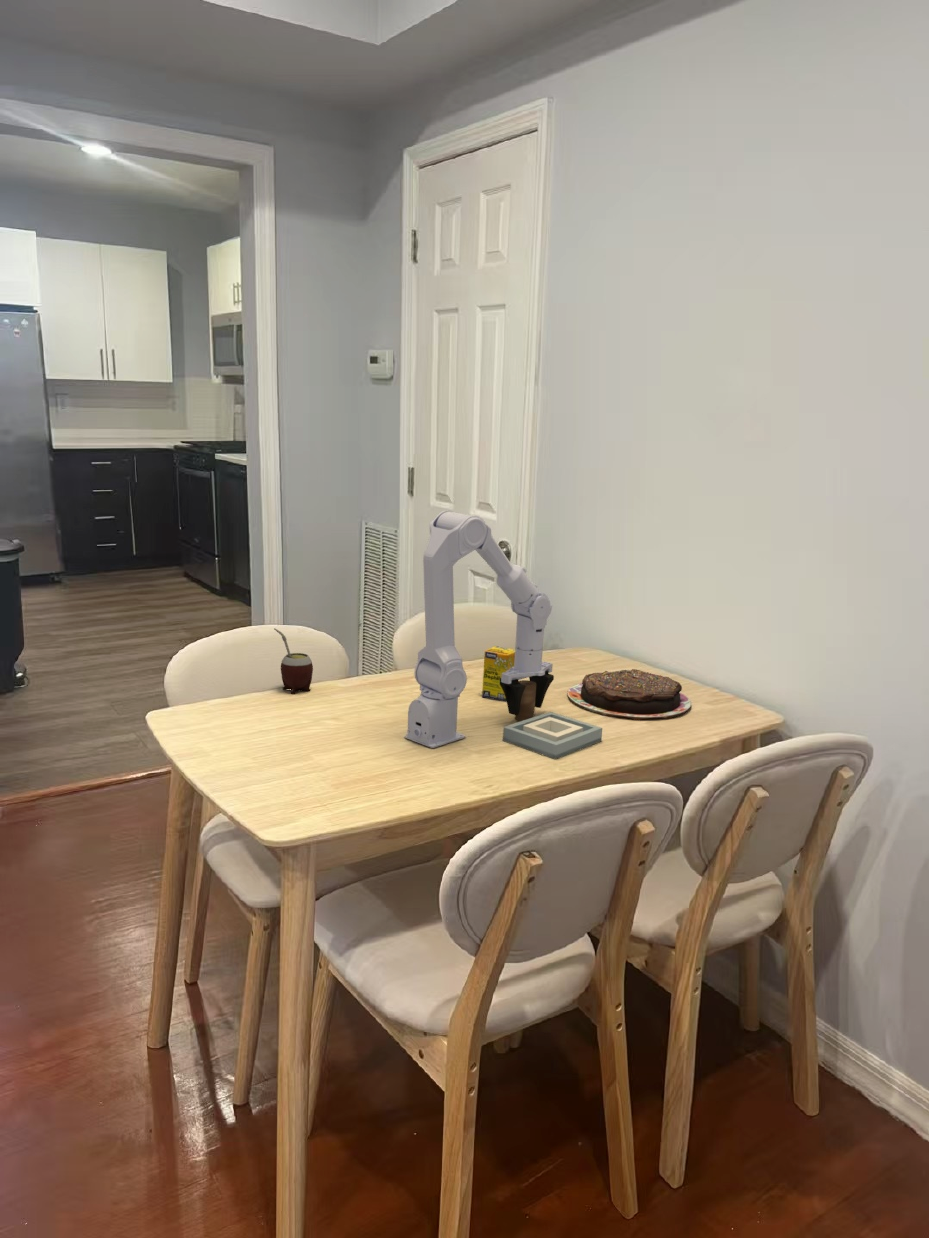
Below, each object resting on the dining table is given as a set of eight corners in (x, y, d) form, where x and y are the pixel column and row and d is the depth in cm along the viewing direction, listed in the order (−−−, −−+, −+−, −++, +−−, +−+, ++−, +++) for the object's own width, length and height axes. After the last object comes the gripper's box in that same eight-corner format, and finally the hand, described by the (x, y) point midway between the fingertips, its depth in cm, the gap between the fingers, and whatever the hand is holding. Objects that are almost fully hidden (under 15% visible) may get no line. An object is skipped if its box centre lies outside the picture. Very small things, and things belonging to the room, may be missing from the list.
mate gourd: (316, 686, 207) (316, 622, 204) (306, 697, 199) (307, 630, 196) (284, 684, 208) (284, 620, 204) (273, 694, 200) (273, 628, 197)
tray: (555, 759, 169) (556, 745, 169) (502, 740, 178) (503, 727, 177) (601, 741, 180) (602, 727, 180) (549, 724, 189) (550, 711, 188)
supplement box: (481, 697, 205) (483, 650, 203) (493, 691, 210) (495, 645, 208) (505, 702, 202) (508, 654, 200) (516, 695, 208) (519, 649, 205)
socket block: (556, 747, 173) (557, 736, 173) (522, 736, 179) (523, 725, 178) (582, 738, 179) (583, 727, 179) (548, 727, 185) (549, 716, 184)
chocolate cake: (541, 698, 208) (543, 670, 207) (615, 678, 227) (617, 653, 226) (643, 731, 188) (645, 701, 187) (714, 706, 207) (717, 679, 206)
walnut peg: (525, 723, 189) (528, 686, 187) (511, 718, 191) (513, 682, 189) (537, 719, 191) (540, 683, 190) (523, 715, 194) (525, 679, 192)
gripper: (521, 657, 180) (517, 722, 183) (565, 646, 191) (561, 707, 193) (494, 650, 185) (491, 713, 188) (539, 639, 195) (535, 700, 198)
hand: (525, 710), depth 191 cm, fingers open, 7 cm apart
